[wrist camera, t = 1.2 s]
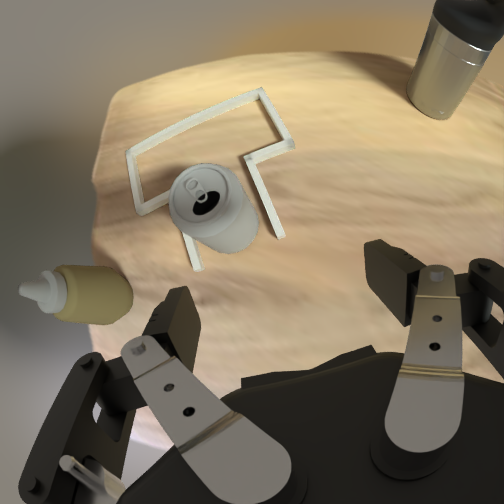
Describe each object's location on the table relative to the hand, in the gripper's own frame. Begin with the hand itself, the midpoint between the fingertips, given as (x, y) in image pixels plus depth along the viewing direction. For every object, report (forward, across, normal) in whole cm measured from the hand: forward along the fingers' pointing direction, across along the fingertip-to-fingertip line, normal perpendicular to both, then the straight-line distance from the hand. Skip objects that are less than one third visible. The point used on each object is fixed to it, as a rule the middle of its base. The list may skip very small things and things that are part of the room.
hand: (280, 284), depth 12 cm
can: (+24, +4, +3) cm, 25 cm away
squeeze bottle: (+23, +22, +8) cm, 33 cm away
